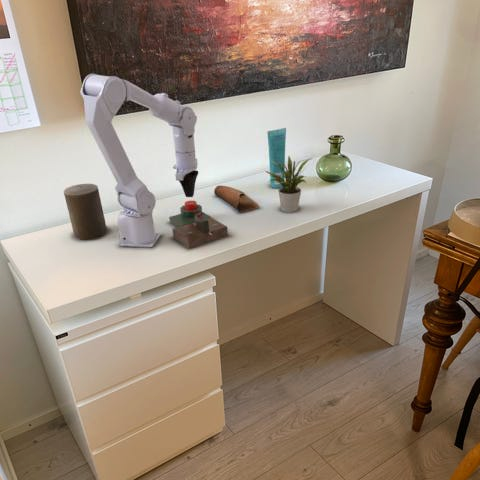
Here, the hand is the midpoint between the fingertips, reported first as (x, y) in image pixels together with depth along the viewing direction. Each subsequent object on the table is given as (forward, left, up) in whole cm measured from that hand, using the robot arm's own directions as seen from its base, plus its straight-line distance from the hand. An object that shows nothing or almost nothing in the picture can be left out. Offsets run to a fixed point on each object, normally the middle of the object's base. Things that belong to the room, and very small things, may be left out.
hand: (189, 196), depth 150 cm
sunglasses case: (+11, +16, -8) cm, 21 cm away
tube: (+23, +32, -8) cm, 40 cm away
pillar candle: (-28, -12, -8) cm, 32 cm away
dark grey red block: (+7, -13, -5) cm, 15 cm away
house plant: (+30, +12, -8) cm, 33 cm away
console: (+6, -12, -8) cm, 15 cm away
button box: (0, -2, -8) cm, 8 cm away
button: (0, 0, -4) cm, 4 cm away
